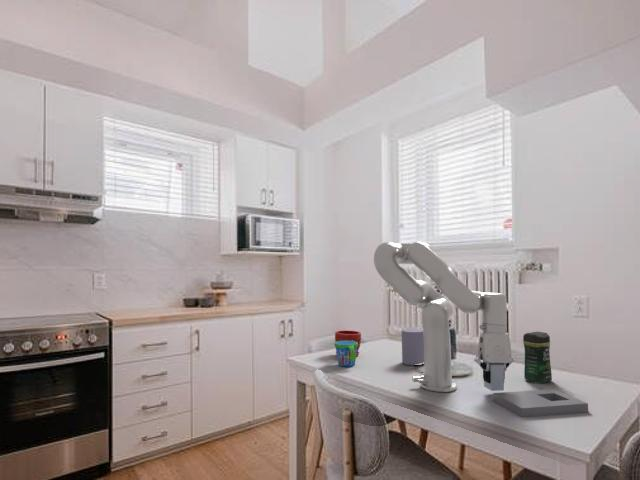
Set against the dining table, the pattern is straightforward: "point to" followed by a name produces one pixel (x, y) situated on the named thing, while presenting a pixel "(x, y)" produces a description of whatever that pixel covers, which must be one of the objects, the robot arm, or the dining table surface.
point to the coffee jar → (537, 357)
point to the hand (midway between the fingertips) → (493, 381)
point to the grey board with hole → (540, 402)
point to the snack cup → (346, 352)
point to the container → (412, 346)
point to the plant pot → (348, 337)
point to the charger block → (496, 377)
